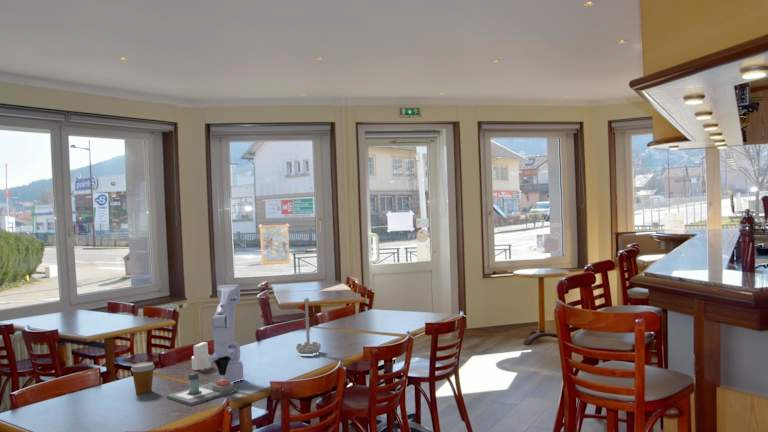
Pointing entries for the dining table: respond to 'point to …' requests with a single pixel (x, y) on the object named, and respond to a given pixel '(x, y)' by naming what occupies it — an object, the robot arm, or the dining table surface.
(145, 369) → the disposable coffee cup
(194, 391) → the salt shaker
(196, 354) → the base with upright slab
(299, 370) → the dining table surface
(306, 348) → the flag stand
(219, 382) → the button
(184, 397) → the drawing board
